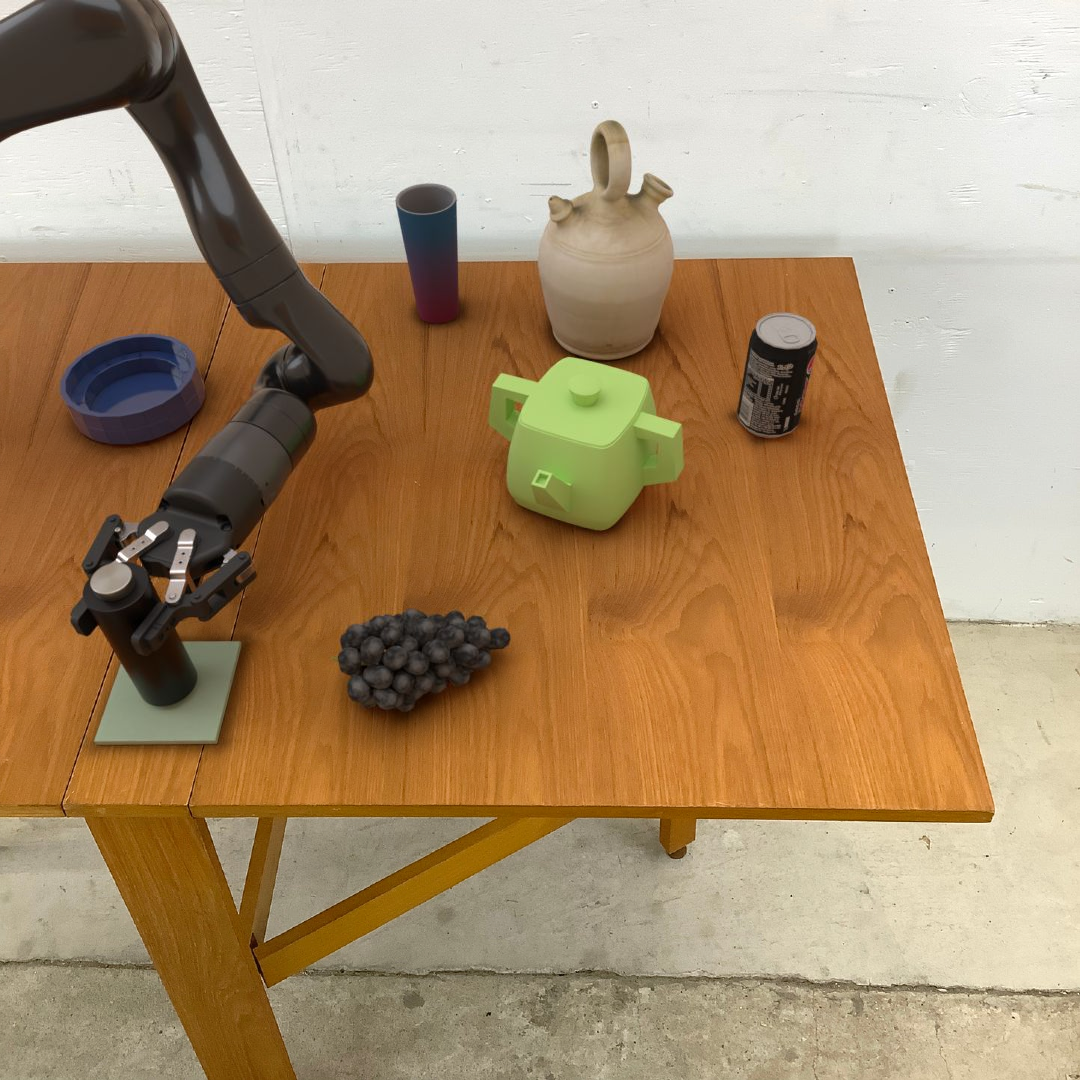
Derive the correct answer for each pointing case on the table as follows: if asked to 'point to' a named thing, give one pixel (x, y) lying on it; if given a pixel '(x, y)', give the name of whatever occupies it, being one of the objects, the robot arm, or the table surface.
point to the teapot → (583, 441)
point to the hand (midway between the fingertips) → (108, 638)
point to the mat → (180, 721)
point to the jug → (607, 256)
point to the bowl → (133, 388)
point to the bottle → (119, 610)
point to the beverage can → (776, 374)
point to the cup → (431, 248)
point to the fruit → (414, 655)
